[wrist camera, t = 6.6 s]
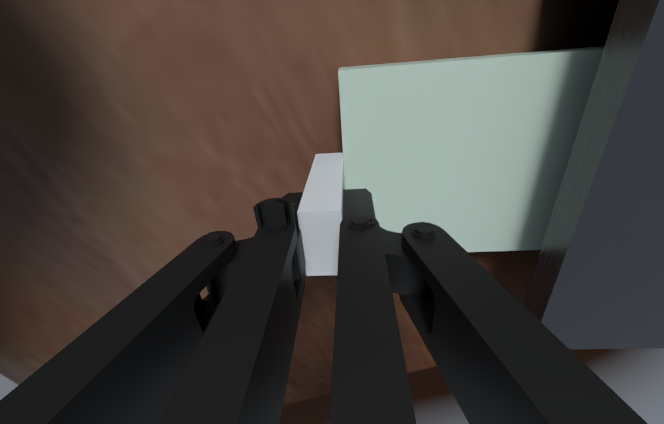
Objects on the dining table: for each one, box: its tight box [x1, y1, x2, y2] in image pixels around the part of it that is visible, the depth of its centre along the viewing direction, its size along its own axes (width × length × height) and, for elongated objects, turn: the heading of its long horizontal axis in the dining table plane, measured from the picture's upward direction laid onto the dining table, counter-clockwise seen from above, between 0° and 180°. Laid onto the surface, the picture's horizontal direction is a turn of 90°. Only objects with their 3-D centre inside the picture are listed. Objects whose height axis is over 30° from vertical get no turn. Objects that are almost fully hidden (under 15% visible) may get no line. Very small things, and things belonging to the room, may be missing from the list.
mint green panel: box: [338, 46, 605, 252], centre depth 16 cm, size 14×10×3 cm
